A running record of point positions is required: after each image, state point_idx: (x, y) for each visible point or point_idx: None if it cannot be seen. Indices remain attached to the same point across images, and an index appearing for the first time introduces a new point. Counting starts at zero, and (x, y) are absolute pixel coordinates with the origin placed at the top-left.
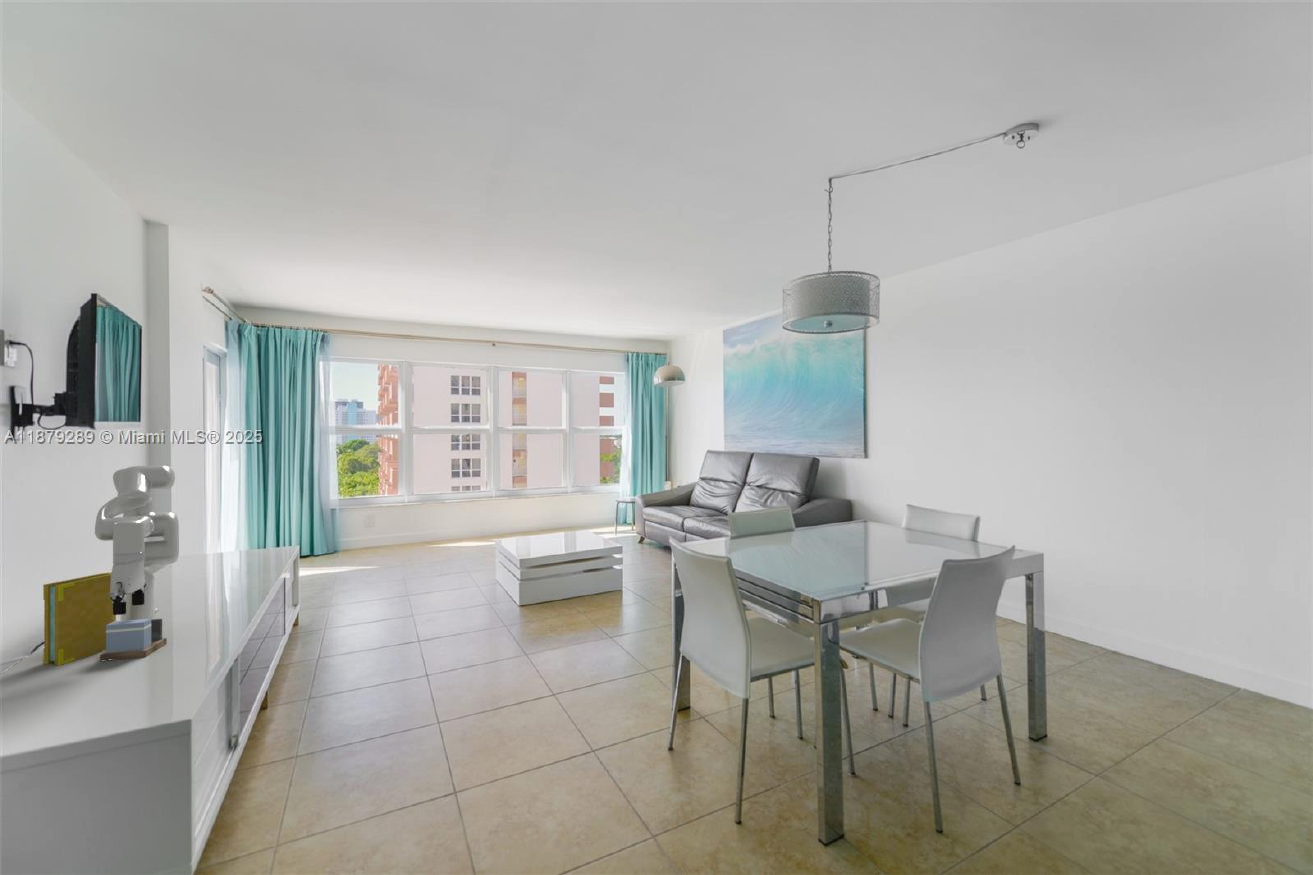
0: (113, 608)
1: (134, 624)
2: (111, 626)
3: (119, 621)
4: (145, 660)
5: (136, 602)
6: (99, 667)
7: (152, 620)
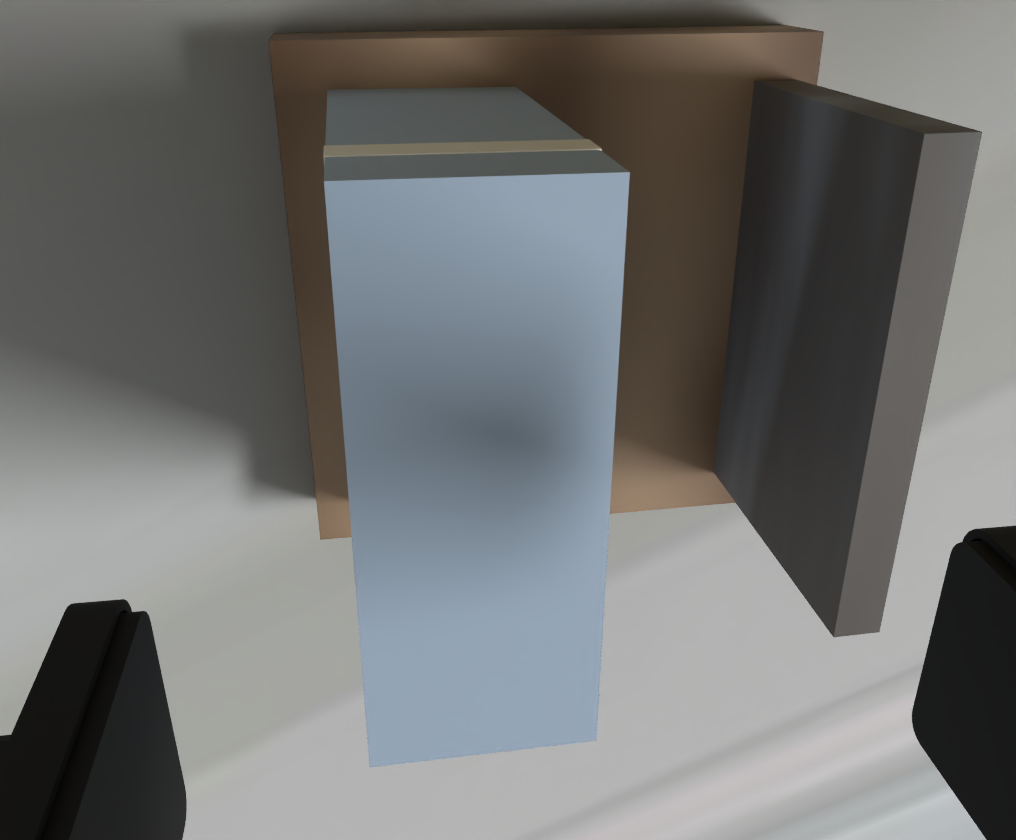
0: (8, 757)
1: (359, 633)
2: (332, 276)
3: (585, 294)
4: (199, 558)
5: (980, 667)
6: (23, 180)
7: (845, 541)
